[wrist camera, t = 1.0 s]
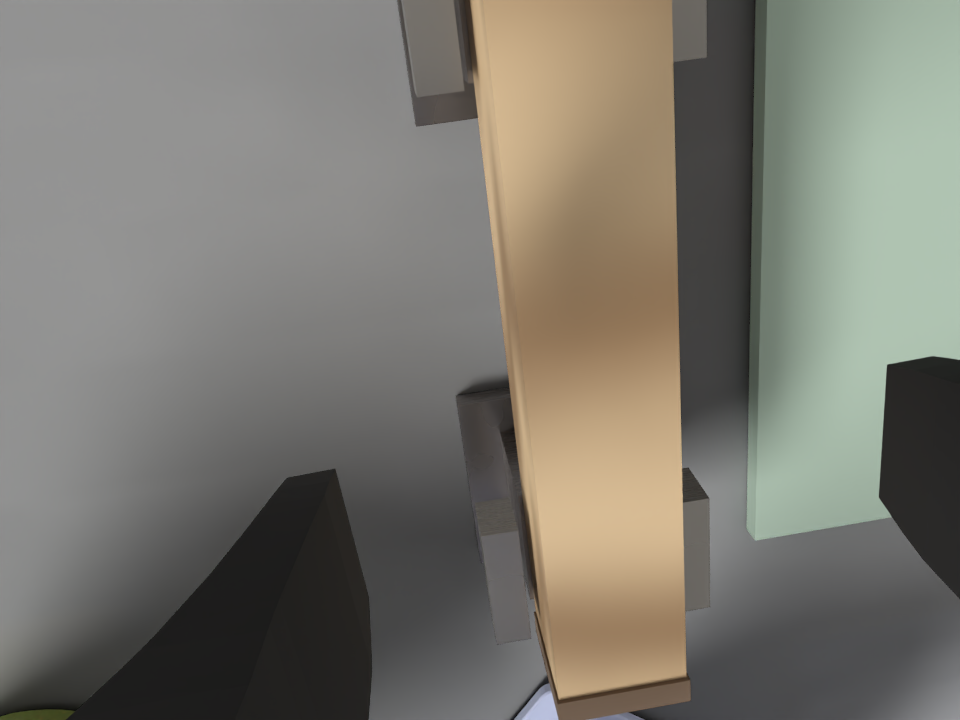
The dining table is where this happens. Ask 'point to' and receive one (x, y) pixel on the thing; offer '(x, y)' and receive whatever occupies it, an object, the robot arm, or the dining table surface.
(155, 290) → the dining table surface
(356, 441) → the dining table surface
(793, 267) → the mat
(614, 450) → the rail
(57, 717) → the plant pot
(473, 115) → the standards
